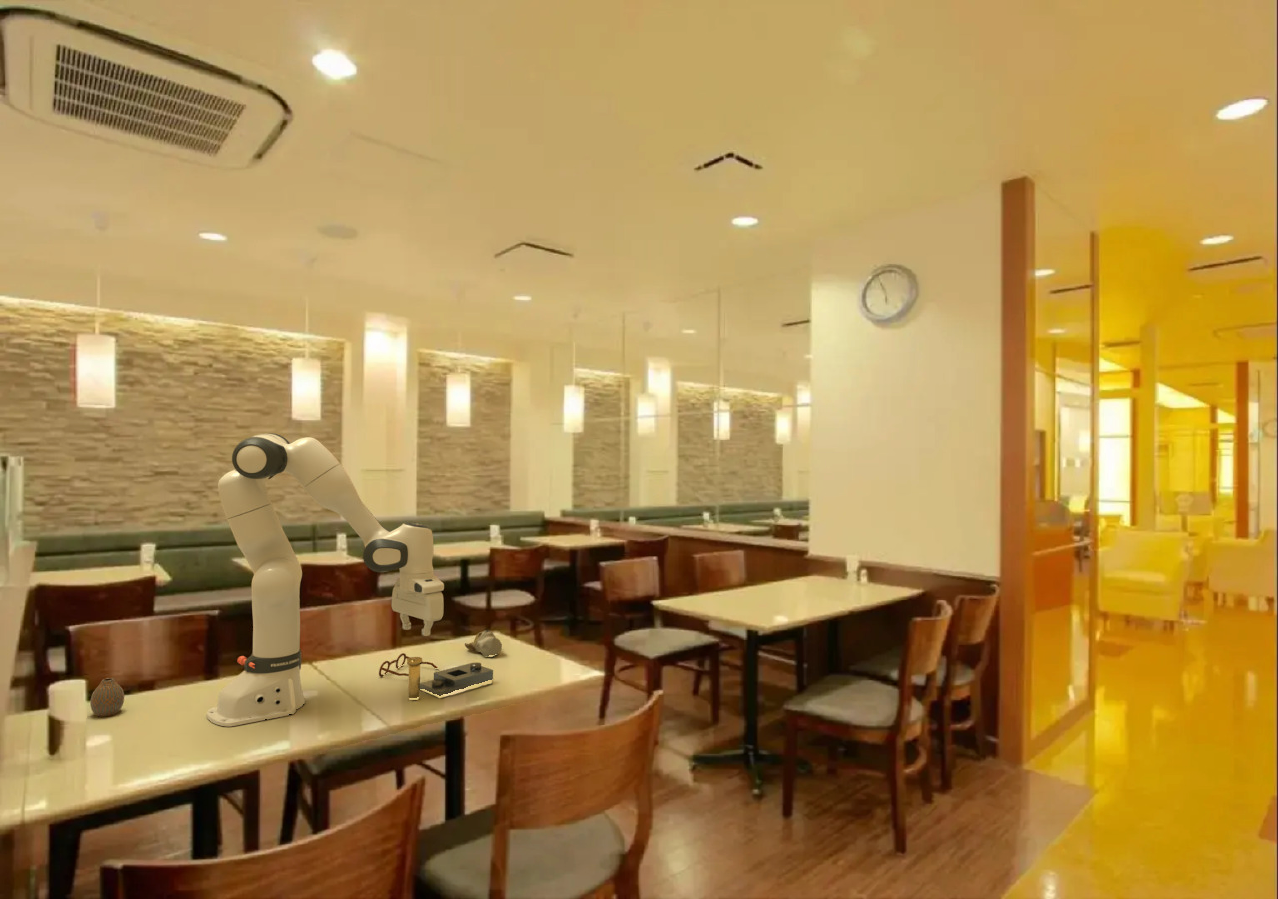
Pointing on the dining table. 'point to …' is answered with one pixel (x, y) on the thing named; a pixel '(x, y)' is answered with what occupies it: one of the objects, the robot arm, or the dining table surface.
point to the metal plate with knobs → (457, 678)
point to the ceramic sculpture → (485, 643)
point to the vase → (107, 698)
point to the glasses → (397, 665)
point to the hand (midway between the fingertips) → (416, 632)
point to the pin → (414, 676)
